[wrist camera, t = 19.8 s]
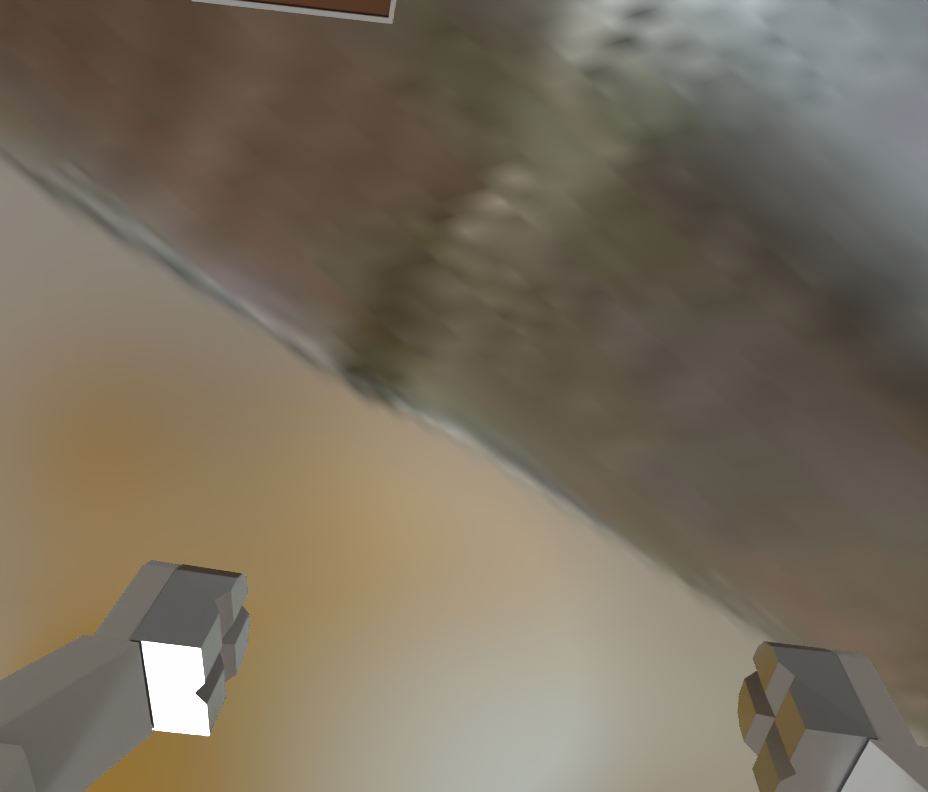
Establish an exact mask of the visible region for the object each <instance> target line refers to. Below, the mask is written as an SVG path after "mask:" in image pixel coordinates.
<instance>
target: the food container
mask: <svg viewBox="0 0 928 792" xmlns="http://www.w3.org/2000/svg"><path fill="white" fill-rule="evenodd" d="M191 1H196V2H205V3H214V4H223V5H231V6H240V7H249V8H258V9H266V10H275V11H284V12H293V13H301V14H310V15H319V16H328V17H336V18H345V19H354V20H363V21H371V22H380V23H389V24H393V19H394V12H395V5H396V0H191Z"/></svg>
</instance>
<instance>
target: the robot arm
mask: <svg viewBox="0 0 928 792" xmlns="http://www.w3.org/2000/svg"><path fill="white" fill-rule="evenodd" d="M247 594H248V586H247V577H246V576H245V575H244V574H241V573H235V572H229V571H222V570H216V569H209V568H202V567H197V566H190V565H184V564H182V565H179V564H173V563H166V562H160V561H153V560H151V561H149V562H148V563H146V564H145V565H143V566H142V567H141V569H140V570H139V572H138V573H137V575H136V576H135V577H134V579H133V580H132V581H131V583H130V584H129V586H128V587H127V589H126V590H125V592H124V593H123V594H122V596H121V597H120V598H119V600H118V601H117V603H116V604H115V605H114V607H113V608H112V610H111V611H110V612H109V614H108V615H107V617H106V618H105V619H104V621H103V622H102V624H101V625H100V626H99V628H98V629H97V631H96V632H95V634H94V635H93V636H87V635H82V636H80V637H79V638H77V639H75V640H73V641H71V642H69V643H68V644H66V645H64V646H62V647H60V648H59V649H57V650H55V651H53V652H51V653H49V654H48V655H46V656H44V657H42V658H40V659H38V660H37V661H35V662H33V663H31V664H29V665H27V666H26V667H24V668H22V669H20V670H18V671H16V672H15V673H13V674H11V675H9V676H8V677H6V678H4V679H2V680H0V792H83V791H84V790H85V789H86V788H88V787H89V786H90V785H91V784H93V783H94V782H95V781H96V780H97V779H98V778H100V777H101V776H102V775H103V774H104V773H106V772H107V771H108V770H109V769H110V768H111V767H113V766H114V765H115V764H116V763H118V762H119V761H120V760H121V759H122V758H124V757H125V756H126V755H127V754H128V753H130V752H131V751H132V750H133V749H134V748H136V747H137V746H138V745H139V744H140V743H142V742H143V741H144V740H145V739H146V738H147V737H149V736H150V735H151V734H152V730H160V731H170V732H179V733H190V734H198V735H208V736H209V735H210V733H211V731H212V728H213V726H214V724H215V721H216V720H217V717H218V715H219V713H220V711H221V708H222V706H223V704H224V702H225V699H226V690H225V682H226V681H227V680H229V679H230V678H232V677H233V676H235V675H236V674H237V672H238V670H239V668H240V665H241V662H242V660H243V658H244V654H245V650H246V646H247V642H248V637H249V627H250V621H249V613H248V612H247V611H246V609H245V608H244V607H243V606H242V604H243V602H244V600H245V598H246V596H247ZM753 661H754V664H755V666H756V669H757V671H756V672H754V673H753V674H751V675H750V676H748V677H746V678H745V679H744V681H743V684H742V687H741V690H740V693H739V702H738V718H739V726H740V730H741V733H742V736H743V740H744V742H745V743H746V744H747V745H748V746H749V747H750V748H751V749H752V750H753V751H754V752H755V753H756V754H757V755H758V757H757V759H756V761H755V764H754V766H753V772H754V775H755V779H756V782H757V785H758V788H759V791H760V792H928V747H924V746H918V745H917V744H916V742H915V740H914V738H913V736H912V735H911V733H910V731H909V729H908V727H907V726H906V724H905V722H904V720H903V718H902V717H901V715H900V713H899V711H898V709H897V708H896V706H895V704H894V702H893V700H892V699H891V697H890V695H889V693H888V691H887V690H886V688H885V686H884V684H883V682H882V681H881V679H880V677H879V675H878V673H877V672H876V670H875V668H874V666H873V664H872V663H871V661H870V659H869V658H868V657H866V656H865V655H864V654H863V653H858V652H850V651H841V650H833V649H828V650H827V649H823V648H815V647H806V646H798V645H790V644H782V643H773V642H765V641H764V642H763V643H762V644H760V645H759V646H758V648H757V650H756V652H755V654H754V657H753Z"/></svg>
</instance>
